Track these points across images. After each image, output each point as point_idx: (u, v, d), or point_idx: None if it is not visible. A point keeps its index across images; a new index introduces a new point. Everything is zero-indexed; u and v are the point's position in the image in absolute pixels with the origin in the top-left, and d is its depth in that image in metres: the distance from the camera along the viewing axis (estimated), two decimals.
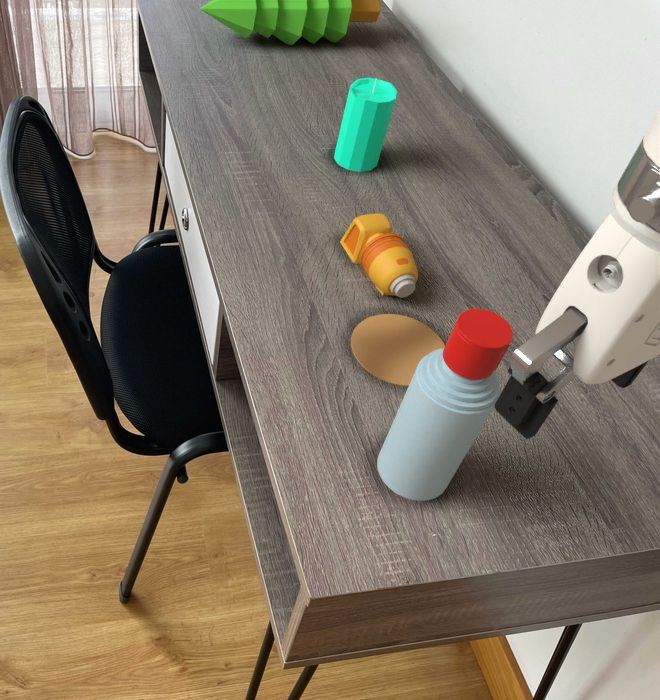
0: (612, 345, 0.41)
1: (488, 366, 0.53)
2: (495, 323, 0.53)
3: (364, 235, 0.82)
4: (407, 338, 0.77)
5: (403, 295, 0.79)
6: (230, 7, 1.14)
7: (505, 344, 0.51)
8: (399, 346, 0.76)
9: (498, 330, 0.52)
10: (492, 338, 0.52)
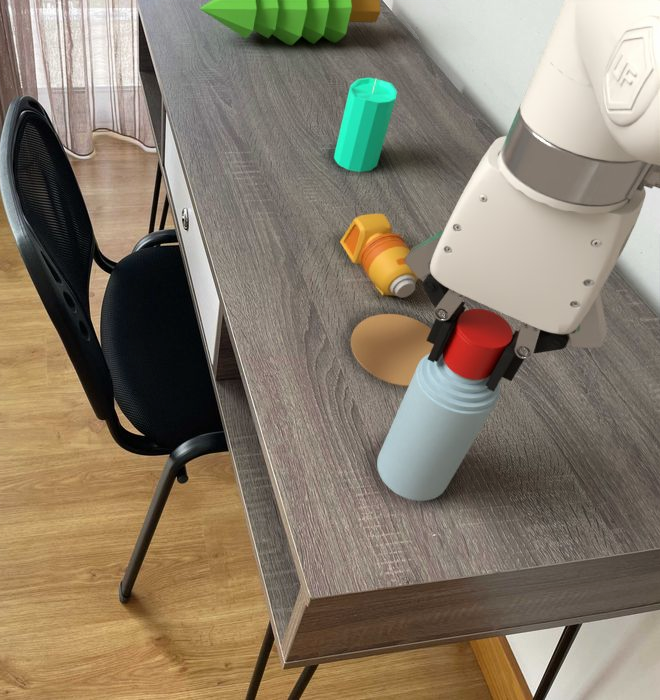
0: None
1: (488, 366, 0.53)
2: (495, 323, 0.53)
3: (364, 235, 0.82)
4: (407, 338, 0.77)
5: (403, 295, 0.79)
6: (230, 7, 1.14)
7: (505, 344, 0.51)
8: (399, 346, 0.76)
9: (498, 330, 0.52)
10: (492, 338, 0.52)
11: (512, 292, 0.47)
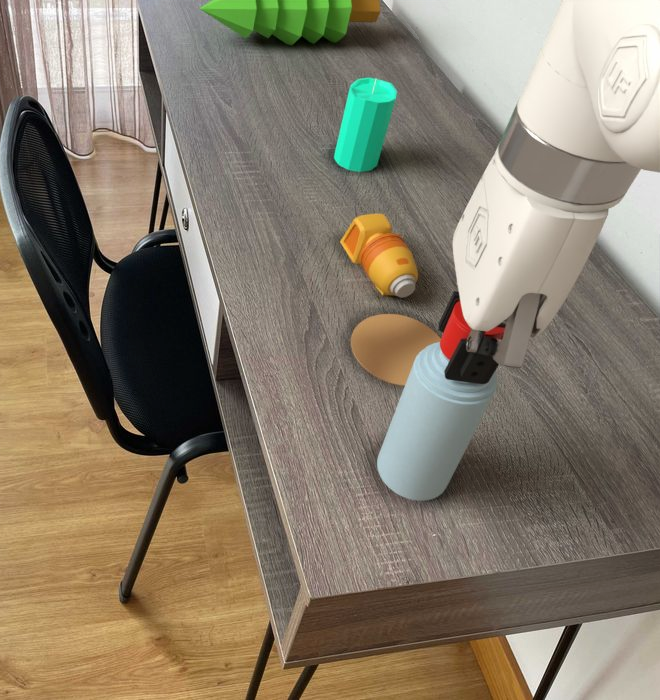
0: None
1: None
2: None
3: (364, 235, 0.82)
4: (407, 338, 0.77)
5: (403, 295, 0.79)
6: (230, 7, 1.14)
7: None
8: (399, 346, 0.76)
9: None
10: None
11: None
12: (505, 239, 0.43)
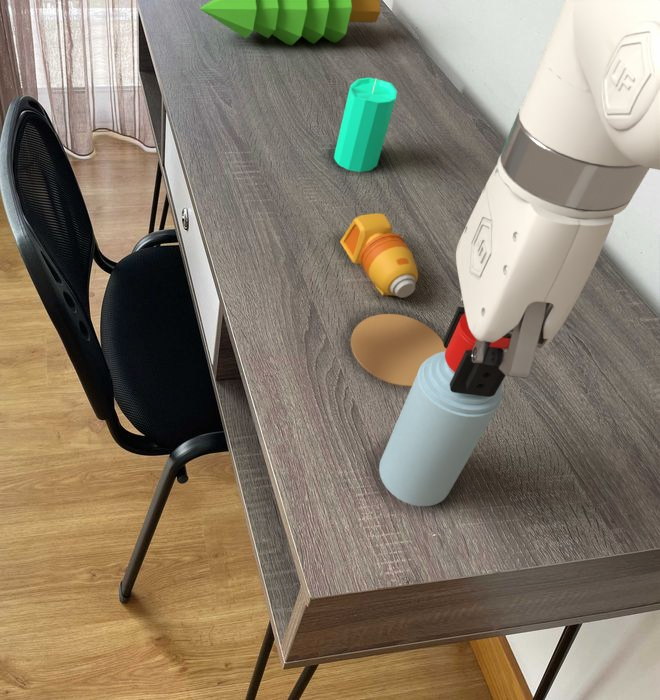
0: (475, 208, 0.50)
1: None
2: None
3: (364, 235, 0.82)
4: (407, 338, 0.77)
5: (403, 295, 0.79)
6: (230, 7, 1.14)
7: None
8: (399, 346, 0.76)
9: None
10: None
11: None
12: (510, 247, 0.43)
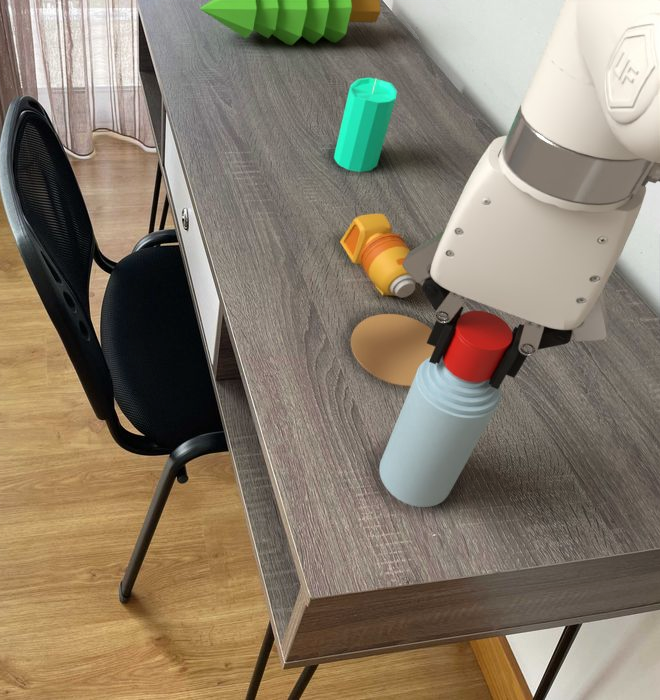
0: None
1: None
2: (470, 324, 0.52)
3: (364, 235, 0.82)
4: (407, 338, 0.77)
5: (403, 295, 0.79)
6: (230, 7, 1.14)
7: (488, 313, 0.53)
8: (399, 346, 0.76)
9: (477, 320, 0.53)
10: (491, 322, 0.52)
11: (517, 292, 0.47)
12: None
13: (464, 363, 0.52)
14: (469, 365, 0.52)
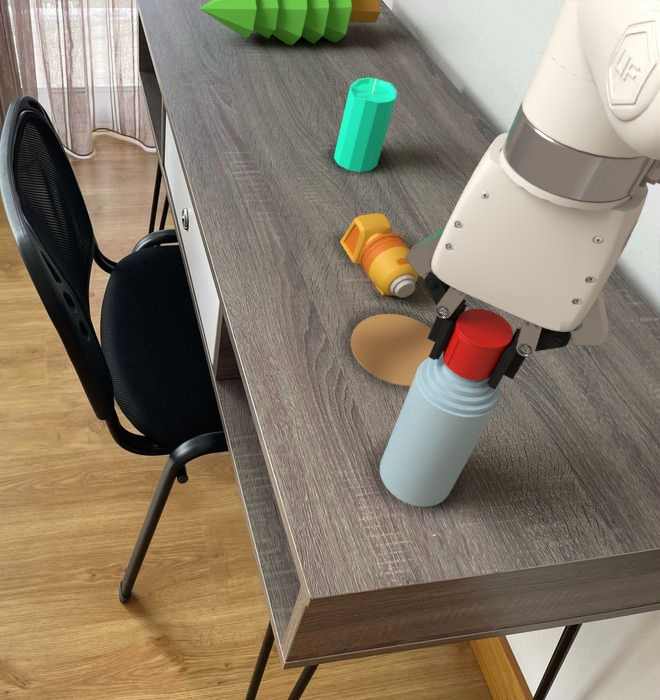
0: None
1: (448, 339, 0.54)
2: (486, 337, 0.51)
3: (364, 235, 0.82)
4: (407, 338, 0.77)
5: (403, 295, 0.79)
6: (230, 7, 1.14)
7: (458, 326, 0.52)
8: (399, 346, 0.76)
9: (477, 333, 0.51)
10: (469, 323, 0.52)
11: (514, 289, 0.47)
12: None
13: None
14: None
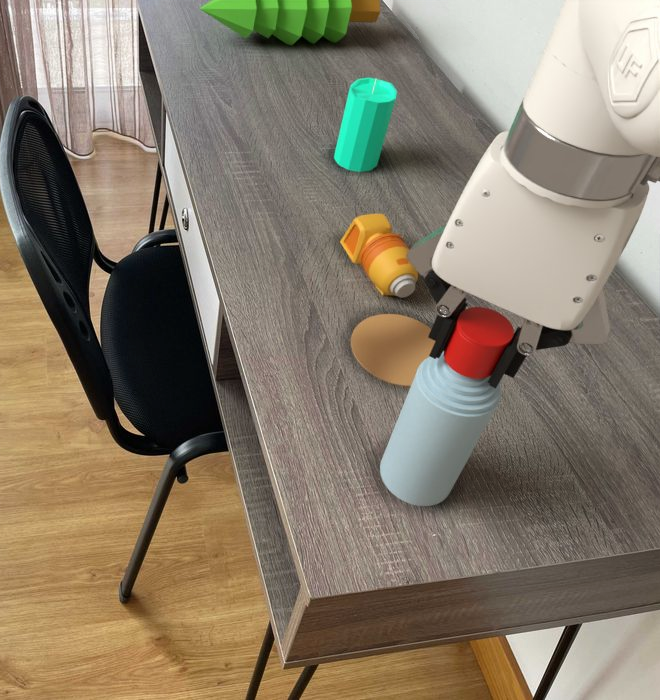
0: None
1: (485, 365, 0.52)
2: (497, 322, 0.52)
3: (364, 235, 0.82)
4: (407, 338, 0.77)
5: (403, 295, 0.79)
6: (230, 7, 1.14)
7: (503, 343, 0.51)
8: (399, 346, 0.76)
9: (499, 329, 0.52)
10: (491, 336, 0.51)
11: (514, 288, 0.46)
12: None
13: None
14: None
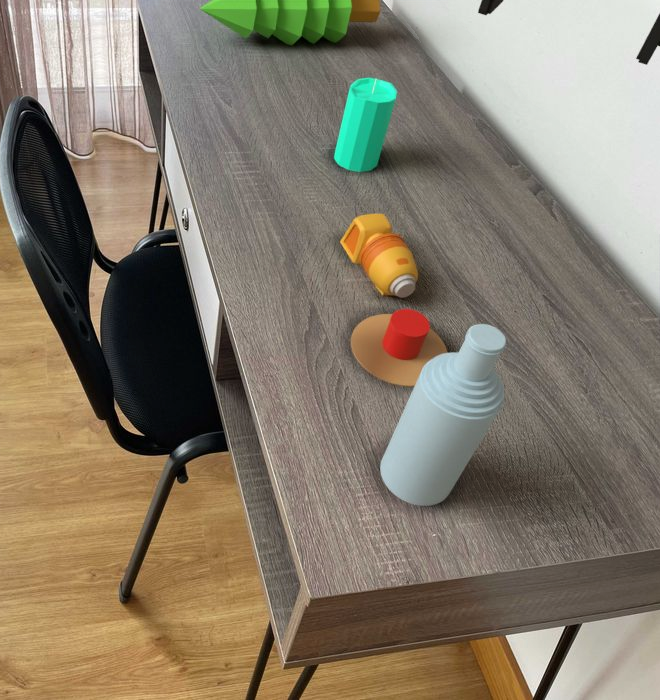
0: None
1: None
2: (401, 324, 0.73)
3: (364, 235, 0.82)
4: None
5: (403, 295, 0.79)
6: (230, 7, 1.14)
7: (399, 310, 0.75)
8: None
9: (401, 319, 0.74)
10: (407, 314, 0.74)
11: None
12: None
13: (412, 349, 0.74)
14: (415, 349, 0.74)
